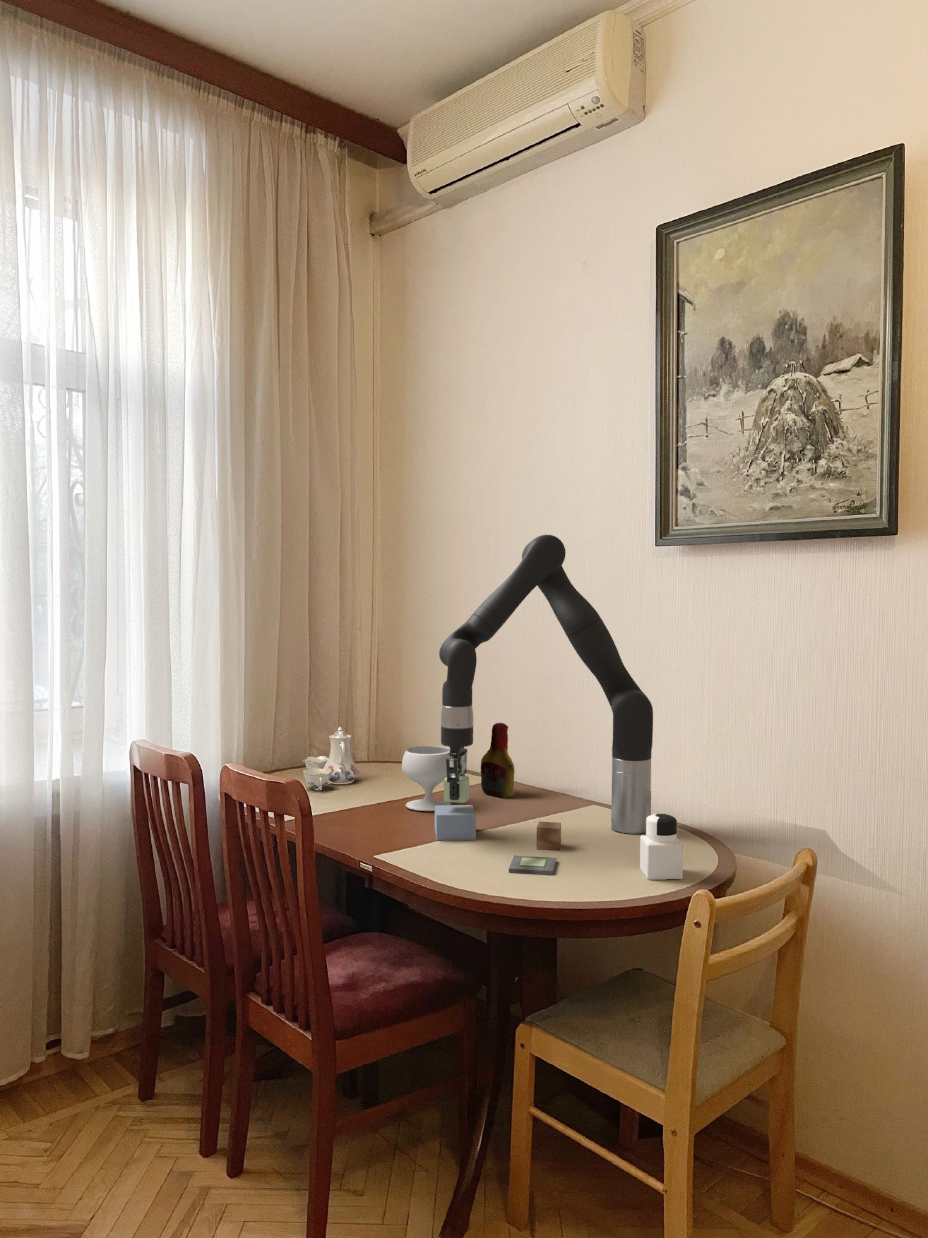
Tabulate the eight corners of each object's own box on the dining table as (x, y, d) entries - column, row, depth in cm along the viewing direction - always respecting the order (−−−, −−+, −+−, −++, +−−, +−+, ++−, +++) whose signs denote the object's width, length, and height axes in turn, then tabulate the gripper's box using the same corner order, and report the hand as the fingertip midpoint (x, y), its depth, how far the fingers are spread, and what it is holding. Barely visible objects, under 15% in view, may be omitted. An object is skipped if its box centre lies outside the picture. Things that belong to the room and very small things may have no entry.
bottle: (520, 797, 253) (520, 724, 252) (502, 801, 249) (502, 727, 249) (493, 789, 263) (494, 719, 262) (475, 792, 259) (475, 721, 258)
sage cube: (468, 797, 219) (469, 776, 219) (465, 802, 214) (465, 781, 214) (448, 796, 220) (448, 775, 220) (443, 801, 215) (443, 780, 215)
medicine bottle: (673, 868, 192) (674, 811, 192) (683, 880, 185) (683, 820, 185) (639, 869, 192) (640, 811, 192) (647, 880, 185) (648, 820, 185)
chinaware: (299, 778, 284) (293, 725, 282) (353, 770, 288) (347, 717, 286) (306, 800, 257) (300, 741, 255) (366, 791, 261) (360, 732, 259)
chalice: (444, 815, 234) (444, 756, 234) (393, 810, 239) (393, 752, 238) (462, 802, 248) (462, 746, 247) (413, 798, 252) (413, 743, 251)
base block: (472, 830, 222) (472, 805, 222) (476, 840, 213) (476, 814, 213) (434, 830, 221) (434, 805, 221) (436, 841, 212) (436, 815, 212)
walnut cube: (560, 844, 210) (561, 822, 210) (559, 851, 205) (559, 828, 205) (538, 843, 211) (538, 821, 210) (536, 849, 206) (536, 827, 206)
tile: (556, 861, 197) (556, 856, 197) (552, 875, 188) (552, 870, 188) (514, 859, 199) (514, 854, 199) (508, 872, 190) (508, 867, 190)
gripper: (467, 730, 209) (467, 805, 210) (478, 720, 223) (477, 790, 224) (434, 728, 210) (434, 803, 211) (447, 719, 224) (446, 789, 225)
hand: (456, 796), depth 217 cm, fingers closed on sage cube, 5 cm apart
